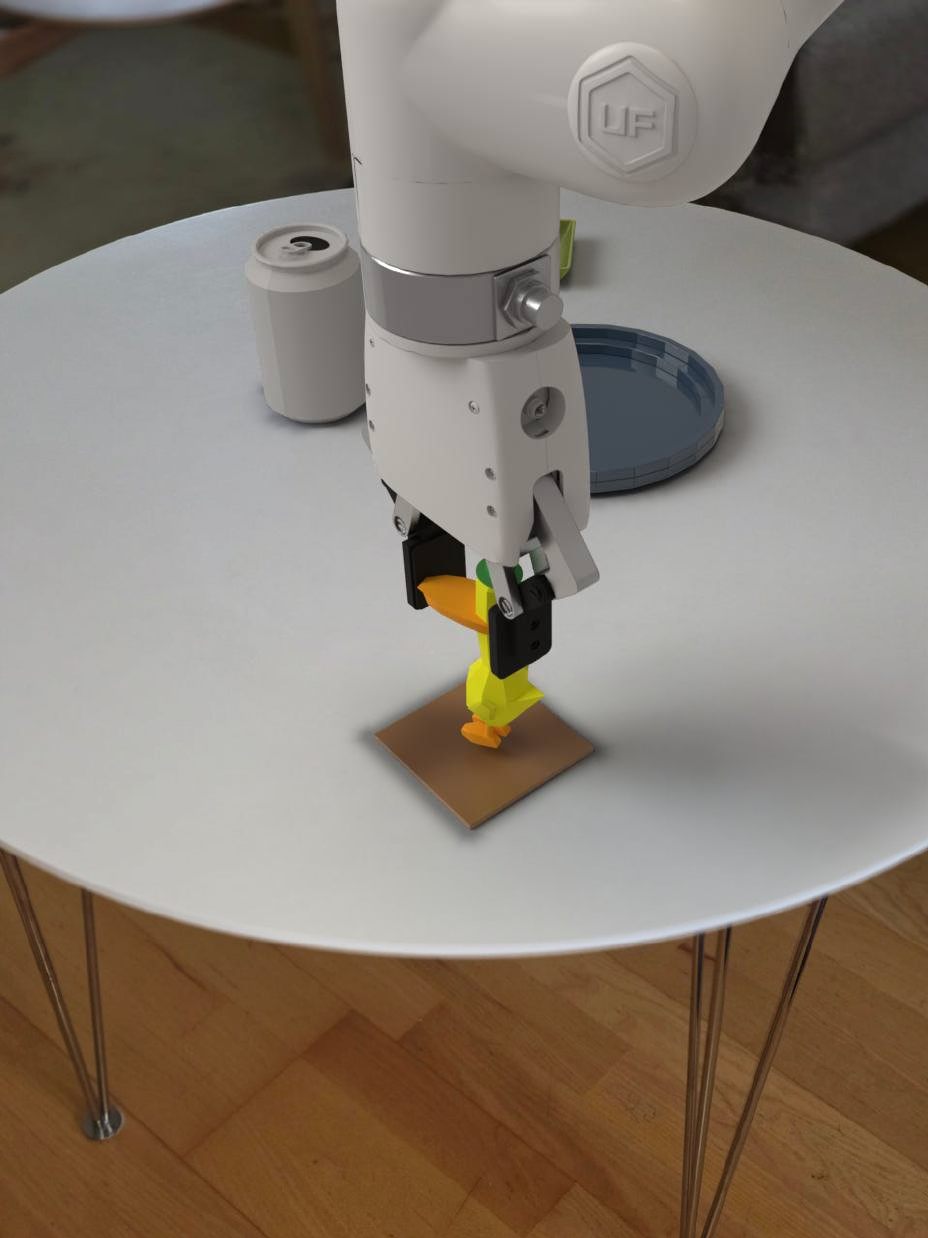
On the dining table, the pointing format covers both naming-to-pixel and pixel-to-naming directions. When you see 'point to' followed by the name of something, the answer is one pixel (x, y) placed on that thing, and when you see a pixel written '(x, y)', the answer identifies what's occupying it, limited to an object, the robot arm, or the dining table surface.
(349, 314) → the can
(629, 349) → the plate
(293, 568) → the dining table surface
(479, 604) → the toy figure
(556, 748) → the coaster
